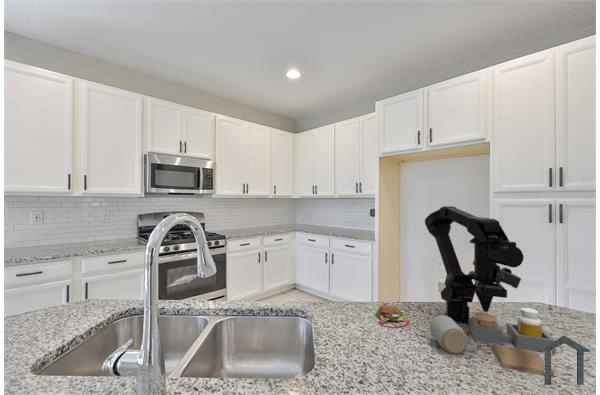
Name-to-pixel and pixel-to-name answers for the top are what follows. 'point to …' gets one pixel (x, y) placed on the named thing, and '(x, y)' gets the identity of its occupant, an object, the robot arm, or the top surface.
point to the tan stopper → (485, 318)
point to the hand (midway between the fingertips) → (485, 311)
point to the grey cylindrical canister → (450, 335)
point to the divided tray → (509, 336)
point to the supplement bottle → (529, 323)
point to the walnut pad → (520, 359)
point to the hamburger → (390, 315)
